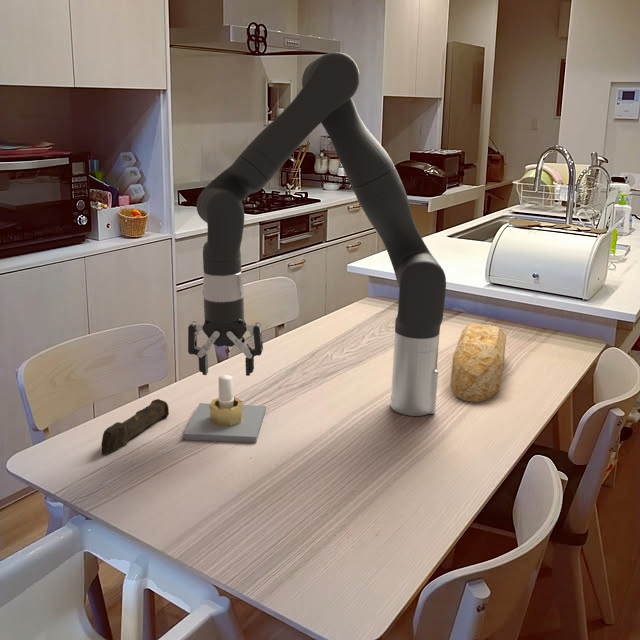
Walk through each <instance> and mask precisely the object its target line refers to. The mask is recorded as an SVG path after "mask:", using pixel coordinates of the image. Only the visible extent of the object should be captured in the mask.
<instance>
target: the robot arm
mask: <svg viewBox="0 0 640 640" xmlns="http://www.w3.org/2000/svg"><path fill="white" fill-rule="evenodd" d="M360 78H361V77H360V70H359V67H358V65H357V62H356V61H355V60H354V59H353V58H352V57H351V56H350V55H349V54H347V53H343V52H337V51H335V52H329V53H328V52H327V53H324V54H323V55H321V56H319V57H318V58H316V59H315V60H313V61H311V62H310V63H309V64H308V65H307V66H306V68H305V69H304V71H303V74H302V78H301V90H300V91H299V93H298V94H297V95H296V96H295V97H294V99H293V100H292V101H291V103H290V104H289V105H288V106H287V107H285V108H284V110H283V111H282V112H281V113H280V114H279V115H278V116H276V118H274V119H273V120H272V121H271V122H270V123H269V124H268V125H267V126H266V127H265V128H264V129H263V130H262V131H261V132H260V133H259V134H257V136H256V137H254V139H252V141H251V142H250V143H249V144H248V145H247V146H246V147H245V149H244V150H243V151H242V152H241V153H240V154H239V156H238V157H236V159H235V160H234V161H233V163H232V164H231V165H230V166H229V167H227V168H226V169H224V171H221V173H220V174H218V175H217V176H216V177H215V178H214V179H212V181H210V183H209V182H208V185H206V186H205V187H204V189H203V190H202V191H201V192H200V194H199V196H198V198H197V201H196V212H197V214H198V215H199V217H200V218H201V219H202V221H203V222H205V223H206V224H207V225H206V226H207V236H206V237H207V241H206V242H205V243H204V244H203V247H202V264H203V265H202V266H203V268H202V269H203V277H202V278H203V280H202V296H203V313H204V323H198V322H196V321H191V323H190V324H189V325H188V328H187V331H188V332H187V334H188V335H187V337H188V338H187V352H188V354H189V355H194V356H196V357H197V359H198V370H199V372H200V373H202V375H203V376H207V375H208V373H209V362H208V360H209V359H208V358H209V357H208V351H209V350H210V348H211V347H212V346H213V345H215V346H216V347H220V348H221V347H228V348H229V347H231V348H233V347H234V346H236V348H237V349H238V350H239V351H241V352H242V354H243V355H244V356H245V376H247V377H250V376H251V374H253V372H254V370H255V357H256V356H258V357H259V356H261V355H262V353H263V350H264V345H263V344H264V343H263V333H262V332H263V331H262V325H261V323H260V322H255V324H254V323H253V324H247V323H246V321H245V302H244V300H245V299H244V279H243V275H242V255H241V246H242V241H243V233H244V227H245V207H244V204H243V201H244V200H245V199H247V197H248V196H249V195H251V194H255V193H258V192H260V191H261V190H262V189H264V187H265V186H266V185H267V184H268V183H270V180H272V178H273V177H274V176H275V175H276V174H277V173H278V172H279V170H280V169H281V168H282V167H283V166H284V165H285V164H286V162H287V161H288V159H290V158H291V156H292V155H293V153H294V152H295V151H296V150H297V149H298V148H299V146H300V145H301V144H302V143H303V142H304V141H305V140H306V138H307V137H308V136H309V135H310V134H311V133H312V132H314V130H315V129H316V128H317V127H318V126H319V125H320V124H321V126H323V128H324V130H325V131H326V133H327V135H328V137H329V139H330V142H331V143H332V145H333V148H334V151H335V152H336V156H337V158H338V160H339V162H340V164H341V167H342V168H343V171H344V172H345V175H346V177H347V179H348V182H349V183H350V186H351V189H352V191H353V193H354V195H355V197H356V199H357V201H358V203H359V205H360V207H361V209H362V210H363V212H364V214H365V215H366V217H367V219H368V221H369V222H370V224H371V225H372V226H373V228H374V229H375V231H376V232H377V234H378V235H379V237H380V239H381V240H382V242H383V245H384V247H385V249H386V252H387V253H388V256H389V259H390V263H391V265H392V269H393V272H394V274H395V279H396V281H397V282H396V283H397V285H398V287H399V288H398V289H399V290H398V291H399V292H398V293H399V294H398V307H397V315H396V318H395V320H394V321H395V322H394V337H393V338H394V339H393V340H394V341H393V357H392V373H391V374H392V375H391V393H390V394H391V395H390V407H391V409H392V410H393V411H395V412H396V413H399V414H401V415H404V416H411V417H419V416H420V417H421V416H427V415H428V414H436V406H437V405H436V404H437V392H438V380H439V371H438V358H439V345H440V333H441V332H440V330H441V325H442V324H443V323H442V322H443V319H444V313H445V311H444V310H445V302H446V291H447V277H446V273H445V271H444V269H443V267H442V266H441V265H440V264H439V262H438V261H437V260H436V258H435V257H434V255H433V254H432V253H431V252H430V250H429V248H428V246H427V244H425V242H424V240H423V238H422V236H421V235H420V233H419V231H418V228H417V226H416V224H415V220H414V218H413V214H412V210H411V209H412V208H411V204H410V202H409V199H408V195H407V192H406V190H405V186H404V183H403V181H402V180H401V177H400V174H399V173H398V170H397V169H396V167H395V164H394V161H393V160H392V158H391V156H390V155H389V154H388V152H387V151H386V150H385V148H384V147H383V146H382V145H381V143H380V142H379V141H378V140H377V138H376V137H375V136H374V135H373V133H372V132H370V130H369V129H368V128H367V127H366V124H365V123H364V122H363V120H362V118H361V116H360V114H359V112H358V110H357V106H356V104H355V102H354V100H353V98H352V97H353V96H355V94H356V92H357V90H358V88H359V85H360V80H361V79H360ZM201 331H203V333H204V334H205V335H206V337H207V340H206V341H205V342H204V344H203V345H202V346H201V347H200V346H198V335H199V334H200V333H201ZM246 332H248V333H249V335H250V336H252V337H253V342H254V347H252V346H251V345H250V344H249V341H248V340H247V339H246V337H245V336H244V335H245V334H246Z"/></svg>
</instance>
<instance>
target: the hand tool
mask: <svg viewBox="0 0 640 640" xmlns="http://www.w3.org/2000/svg"><path fill="white" fill-rule="evenodd" d="M169 411H170V409H169V405H168V402H167V401H164V400H162V399H160V398H156V399H154V400H152V401H151V402H150V404H149V405H147V406H146V407H144V408H142V409H139V410H138V411H136V412H135V414H134V415H132V416H130V418H127V419H126V420H124V421H123V422H119V421H117V422H115V423H113V424H112V425H111V426H109V427H107V428H106V429H105V430H104V432H103V433H102V439H101V456H105V455H106V456H107V455H109V454H112V453H114V452H116V451H118V450H120V449H122V448H123V447H126V445H127V444H128V441H129V440H131V439H132V438H133V437H135V436H137V435H138V434H141V433H142V431H144V430H145V429H147V428H148V427H150V426H151V425H153V424H154V423H156V422H157V421H159V420H160V419H162V418H163V419H167V418H168V417H169V415H170V412H169Z"/></svg>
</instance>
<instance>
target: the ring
mask: <svg viewBox="0 0 640 640" xmlns="http://www.w3.org/2000/svg"><path fill="white" fill-rule="evenodd" d="M233 397H234V402H233V407H232V408H219V397H217V398H214V399H212V401H211V402H210V403H209V404H210V422H212V423H214V424H215V425H217V426H233V425H236V424H239V423H241V421H242V419H243V405H244V401H243V400H241V399H240V398H238V397H236V396H233Z"/></svg>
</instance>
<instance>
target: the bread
mask: <svg viewBox="0 0 640 640" xmlns="http://www.w3.org/2000/svg"><path fill="white" fill-rule="evenodd" d="M506 342H507V335H506V333H505V331H504V330H502V329H501V328H500V327H498V326H496V325H489V324H488V325H487V324H481V323H480V324H479V323H471V324H468V325H467V326H465V327H464V328H463V329H462V330H461V333H460V336H459V339H458V342H457V345H456V347H455V350H454V352H453V356H452V363H451V375H450V387H451V389H452V391H453V395H454V396H456V397H457V398H460V399H461V400H463V401H466V400H467V402H468V401H469V402H475V403H478V402H481V401H486V400H488V399H489V398H491V397H493V396H494V395H495V394H497V393H498V392H499V391H500V387H501V381H502V376H503V375H502V374H503V369H504V364H505V363H504V361H505V352H506V344H507V343H506Z"/></svg>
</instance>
